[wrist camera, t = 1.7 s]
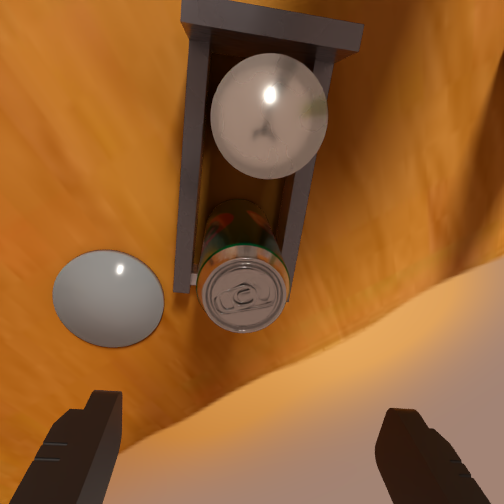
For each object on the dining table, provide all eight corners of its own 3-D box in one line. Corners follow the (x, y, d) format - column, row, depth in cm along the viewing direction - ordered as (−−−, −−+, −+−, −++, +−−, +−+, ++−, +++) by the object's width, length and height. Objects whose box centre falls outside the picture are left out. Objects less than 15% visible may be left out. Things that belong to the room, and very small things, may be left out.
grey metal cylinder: (220, 75, 25) (216, 43, 14) (290, 85, 26) (339, 63, 15) (213, 148, 27) (205, 171, 16) (279, 156, 28) (315, 185, 16)
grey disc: (52, 244, 29) (49, 246, 28) (167, 255, 30) (166, 258, 29) (58, 339, 32) (55, 343, 31) (161, 346, 33) (160, 350, 32)
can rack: (195, 29, 24) (182, -9, 17) (323, 51, 25) (364, 24, 18) (178, 273, 30) (163, 324, 23) (281, 282, 31) (299, 334, 24)
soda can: (275, 245, 30) (305, 322, 19) (218, 264, 30) (214, 351, 19) (257, 188, 28) (278, 236, 17) (196, 209, 29) (178, 269, 17)
